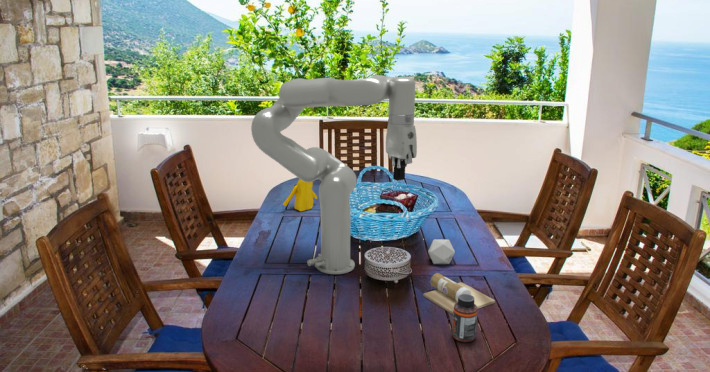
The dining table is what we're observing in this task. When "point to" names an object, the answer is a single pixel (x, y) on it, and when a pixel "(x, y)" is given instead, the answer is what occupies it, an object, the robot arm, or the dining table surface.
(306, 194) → the figure statuette
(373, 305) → the dining table surface
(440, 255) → the die
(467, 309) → the supplement bottle
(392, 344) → the dining table surface
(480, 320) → the dining table surface
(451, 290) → the sprinkles bottle
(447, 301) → the board
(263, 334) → the dining table surface
